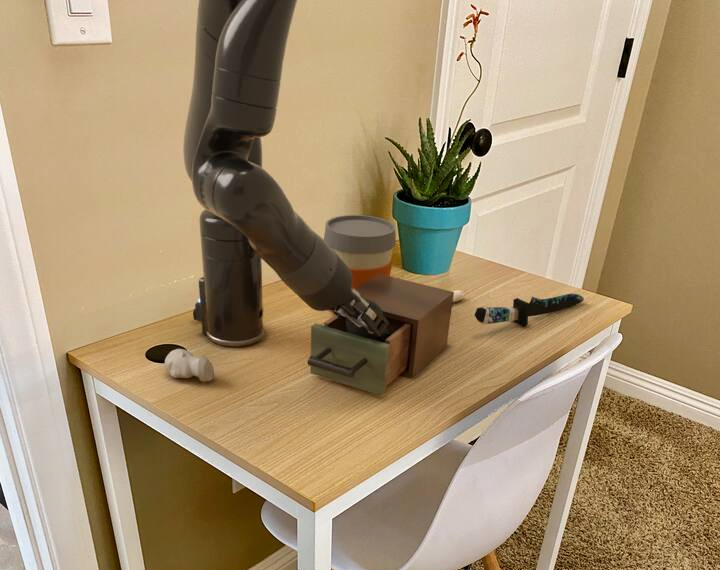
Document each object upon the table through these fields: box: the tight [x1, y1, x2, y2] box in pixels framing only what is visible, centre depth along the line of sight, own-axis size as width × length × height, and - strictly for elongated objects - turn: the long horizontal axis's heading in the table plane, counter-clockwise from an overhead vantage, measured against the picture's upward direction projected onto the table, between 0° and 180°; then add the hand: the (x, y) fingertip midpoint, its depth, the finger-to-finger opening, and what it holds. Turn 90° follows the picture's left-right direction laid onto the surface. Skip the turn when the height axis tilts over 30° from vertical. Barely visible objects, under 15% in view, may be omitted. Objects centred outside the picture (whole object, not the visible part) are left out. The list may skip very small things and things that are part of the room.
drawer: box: [307, 315, 413, 397], centre depth 112 cm, size 18×12×8 cm
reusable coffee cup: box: [323, 214, 397, 289], centre depth 133 cm, size 12×13×15 cm
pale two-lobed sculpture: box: [164, 348, 215, 383], centre depth 112 cm, size 4×8×5 cm
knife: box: [474, 293, 585, 327], centre depth 136 cm, size 31×3×4 cm, turn 125°
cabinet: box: [355, 274, 454, 379], centre depth 121 cm, size 14×14×10 cm
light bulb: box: [345, 299, 383, 340], centre depth 111 cm, size 6×6×10 cm
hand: (372, 331), depth 113 cm, fingers closed on light bulb, 5 cm apart
